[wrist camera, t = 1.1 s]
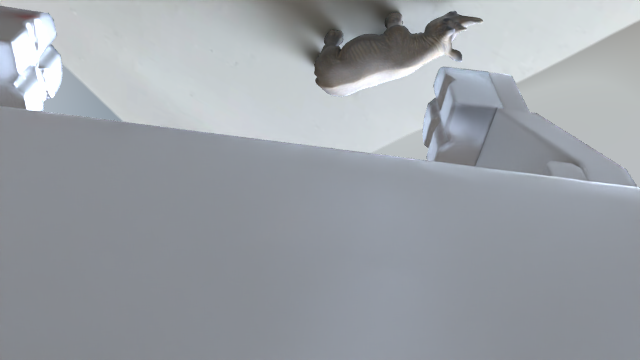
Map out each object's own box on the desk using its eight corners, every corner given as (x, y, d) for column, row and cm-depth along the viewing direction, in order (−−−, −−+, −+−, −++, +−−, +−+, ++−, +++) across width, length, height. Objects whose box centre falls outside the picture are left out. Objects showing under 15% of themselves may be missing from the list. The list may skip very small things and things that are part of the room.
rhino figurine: (480, 31, 45) (495, 66, 41) (320, 78, 49) (317, 116, 44) (471, -17, 43) (486, 15, 38) (303, 36, 46) (298, 71, 42)
